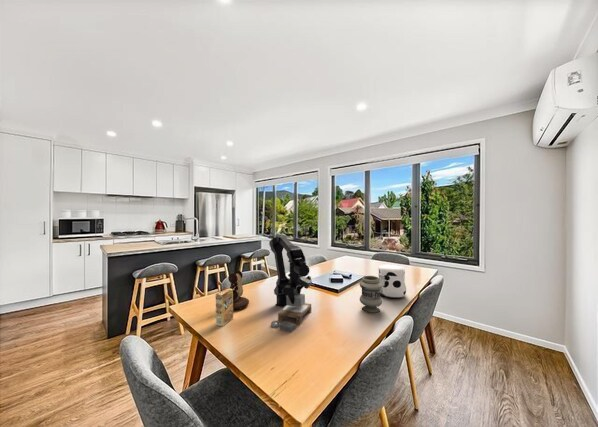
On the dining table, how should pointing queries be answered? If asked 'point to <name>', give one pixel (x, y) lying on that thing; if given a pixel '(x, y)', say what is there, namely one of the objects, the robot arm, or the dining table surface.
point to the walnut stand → (294, 312)
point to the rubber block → (287, 326)
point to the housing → (297, 300)
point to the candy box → (224, 307)
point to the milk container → (392, 281)
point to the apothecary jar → (371, 294)
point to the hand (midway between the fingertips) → (295, 301)
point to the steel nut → (275, 324)
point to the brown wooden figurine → (237, 290)
